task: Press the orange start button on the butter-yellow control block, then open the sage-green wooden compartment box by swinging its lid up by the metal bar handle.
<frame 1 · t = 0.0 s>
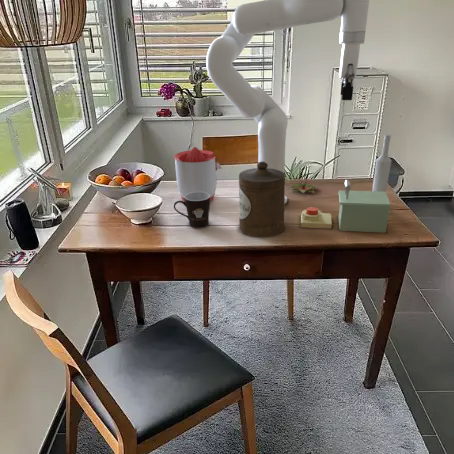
hand: (346, 97, 155), 37 cm above the table, tool pointing down, fingers open, 9 cm apart
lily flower: (303, 190, 189), on the table
start button: (312, 211, 159), point 4 cm above the table, slide at 0.1 cm
coffee mug: (194, 224, 162), on the table
bottle: (376, 205, 173), on the table
wooden container: (261, 228, 158), on the table
compartment: (361, 224, 159), on the table
citrus juicer: (200, 200, 182), on the table
lid: (364, 191, 152), point 12 cm above the table, hinge at 0.0°
control block: (315, 222, 161), on the table
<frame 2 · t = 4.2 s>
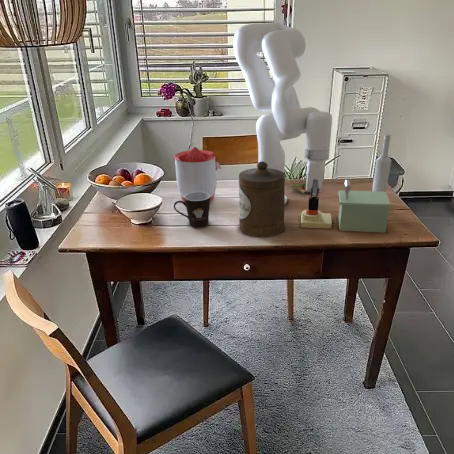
hand: (313, 209, 158), 5 cm above the table, tool pointing down, fingers closed
start button: (312, 211, 159), point 4 cm above the table, slide at 0.1 cm, touching gripper
everything else where it was.
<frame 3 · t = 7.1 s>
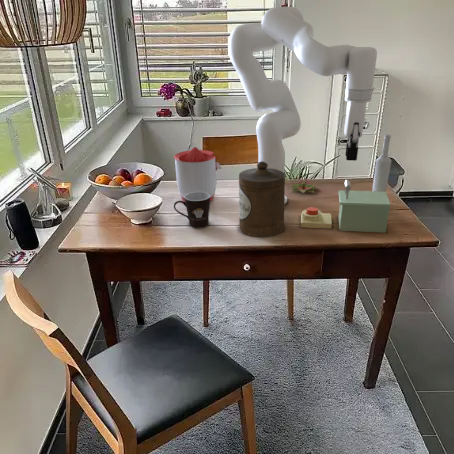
hand: (350, 157, 147), 22 cm above the table, tool pointing down, fingers open, 3 cm apart
start button: (312, 211, 159), point 4 cm above the table, slide at 0.1 cm
everything else where it was.
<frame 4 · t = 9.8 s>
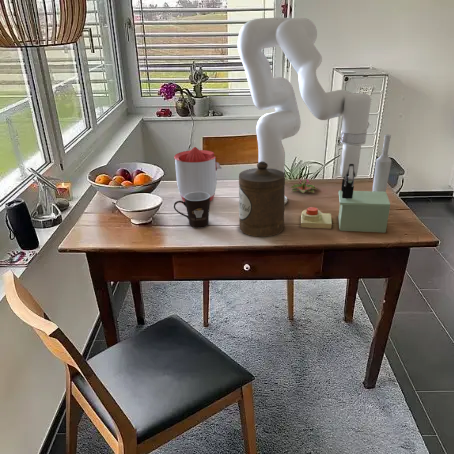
hand: (346, 194, 154), 10 cm above the table, tool pointing down, fingers closed on lid, 5 cm apart
lid: (364, 191, 152), point 12 cm above the table, hinge at 0.0°, touching gripper
everything else where it was.
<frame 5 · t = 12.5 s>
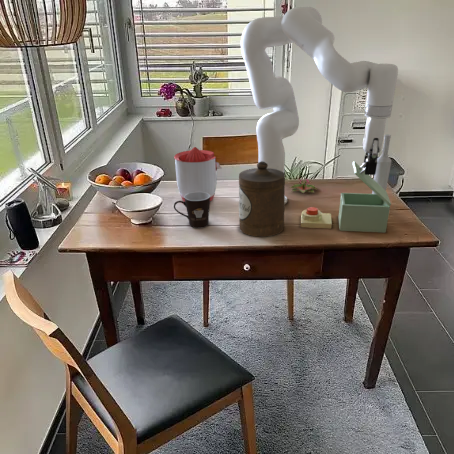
hand: (369, 170, 149), 18 cm above the table, tool pointing down, fingers closed on lid, 5 cm apart
lid: (377, 178, 150), point 16 cm above the table, hinge at 40.3°, touching gripper
everything else where it was.
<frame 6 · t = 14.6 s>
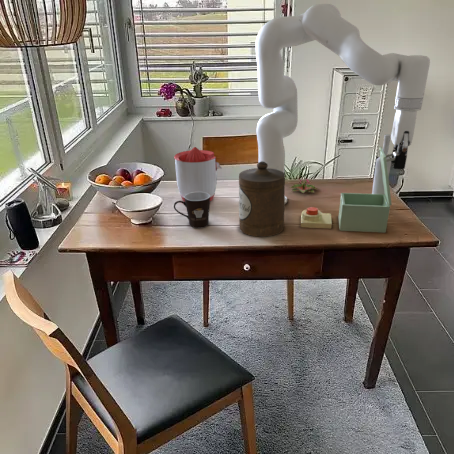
hand: (397, 165, 146), 20 cm above the table, tool pointing down, fingers closed on lid, 5 cm apart
lid: (392, 174, 148), point 17 cm above the table, hinge at 74.9°, touching gripper
everything else where it was.
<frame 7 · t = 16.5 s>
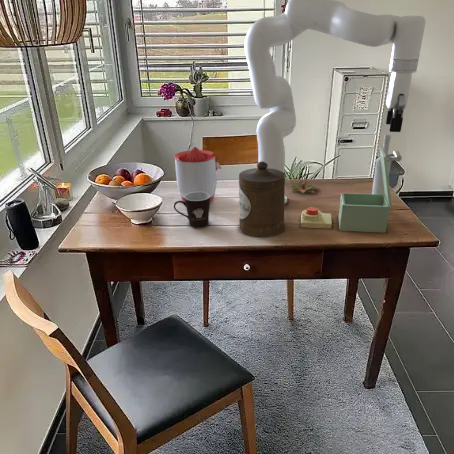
hand: (392, 127, 145), 31 cm above the table, tool pointing down, fingers open, 9 cm apart
lid: (393, 174, 148), point 17 cm above the table, hinge at 75.3°
everything else where it was.
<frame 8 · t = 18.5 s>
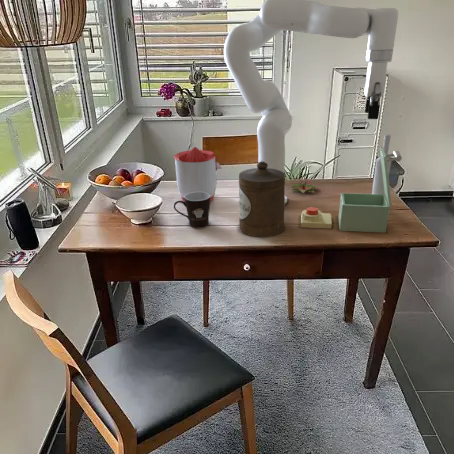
hand: (371, 115, 152), 32 cm above the table, tool pointing down, fingers open, 9 cm apart
nothing on the table moved.
at the end: start button pushed in 0.9 cm at the most during the clip, back to where it started at the end; start button slide at 0.1 cm; lid at +75° (first picture: +0°) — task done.
